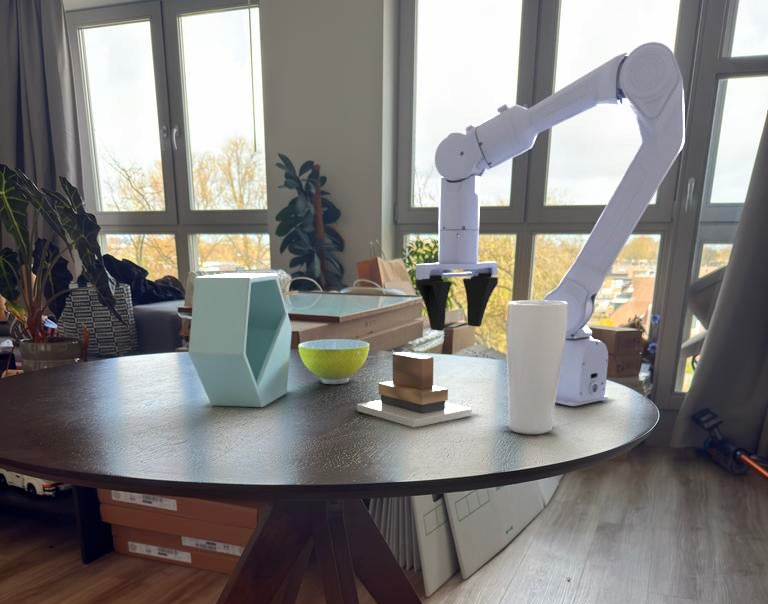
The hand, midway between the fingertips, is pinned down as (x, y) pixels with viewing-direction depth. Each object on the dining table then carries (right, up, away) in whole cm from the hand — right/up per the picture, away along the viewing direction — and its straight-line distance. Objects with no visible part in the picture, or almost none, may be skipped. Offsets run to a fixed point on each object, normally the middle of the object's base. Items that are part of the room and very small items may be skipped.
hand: (456, 328), depth 108 cm
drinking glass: (+7, -18, -20) cm, 28 cm away
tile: (-7, -14, -11) cm, 19 cm away
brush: (-7, -13, -11) cm, 19 cm away
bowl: (-19, -6, +11) cm, 23 cm away
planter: (-31, -11, -2) cm, 33 cm away
